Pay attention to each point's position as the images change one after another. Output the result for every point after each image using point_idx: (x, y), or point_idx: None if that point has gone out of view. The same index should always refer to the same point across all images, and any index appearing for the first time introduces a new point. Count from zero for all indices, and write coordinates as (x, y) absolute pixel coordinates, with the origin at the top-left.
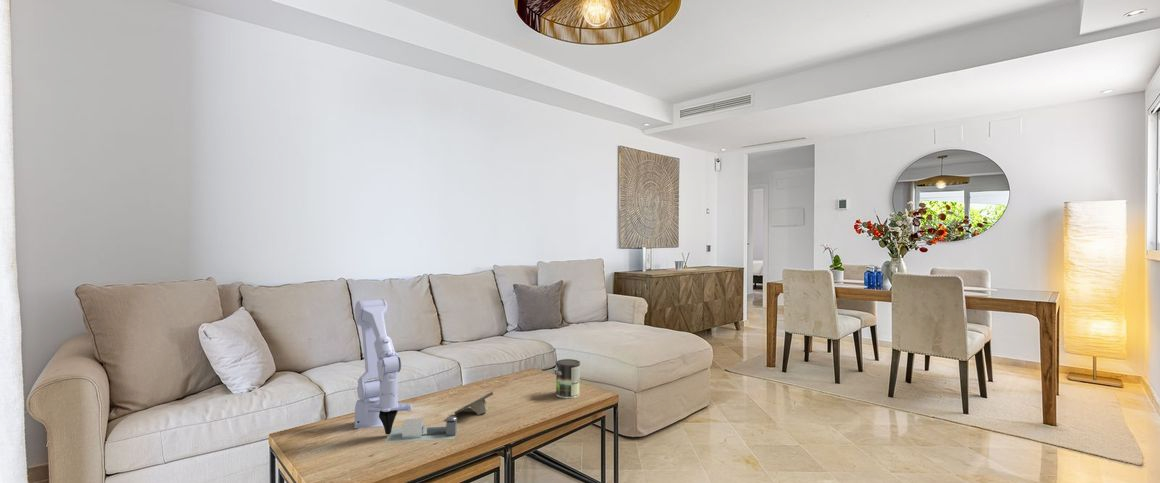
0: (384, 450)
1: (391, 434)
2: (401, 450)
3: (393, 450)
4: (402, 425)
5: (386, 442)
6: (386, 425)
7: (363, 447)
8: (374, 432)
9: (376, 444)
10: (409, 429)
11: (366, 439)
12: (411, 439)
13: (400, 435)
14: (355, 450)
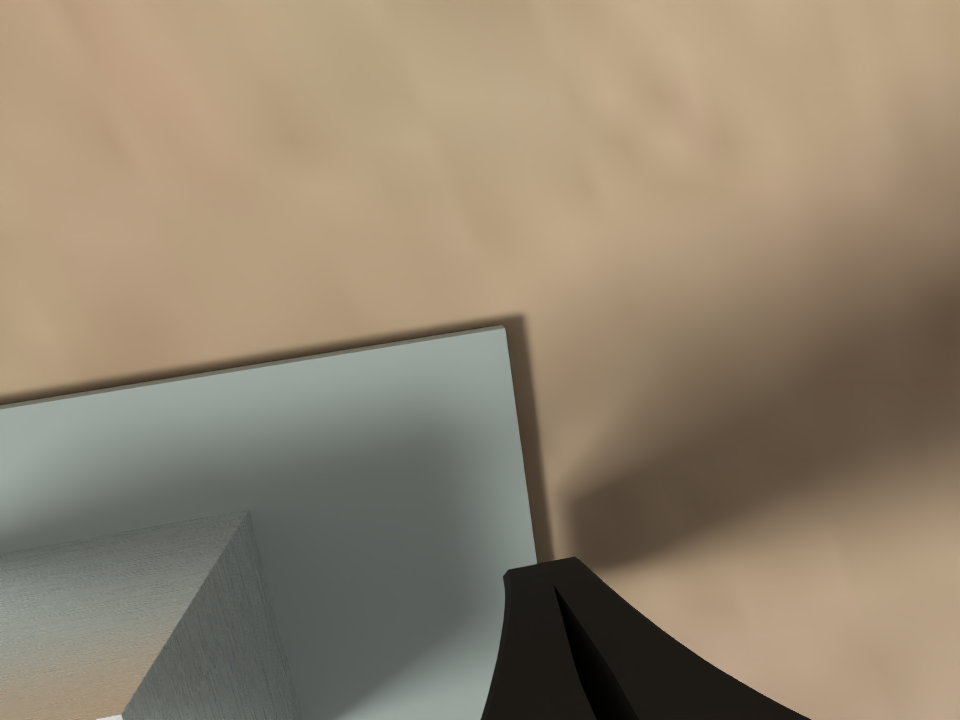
0: (384, 25)
1: None
2: (33, 17)
3: (203, 21)
4: (132, 700)
5: (469, 332)
6: (613, 662)
7: (802, 168)
8: None
9: (627, 295)
10: (5, 645)
11: (843, 478)
12: (48, 481)
13: (341, 624)
14: (897, 38)
